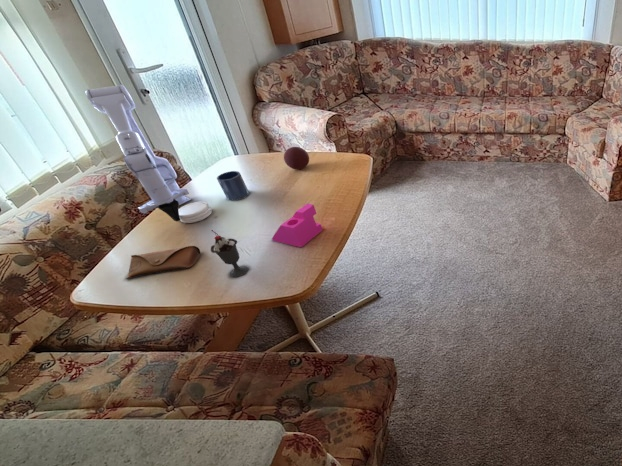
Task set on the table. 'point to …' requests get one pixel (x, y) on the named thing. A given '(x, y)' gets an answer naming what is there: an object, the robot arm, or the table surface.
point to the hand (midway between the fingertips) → (177, 220)
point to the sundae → (228, 254)
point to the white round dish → (194, 212)
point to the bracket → (299, 227)
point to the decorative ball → (296, 158)
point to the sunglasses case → (163, 261)
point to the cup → (233, 185)
